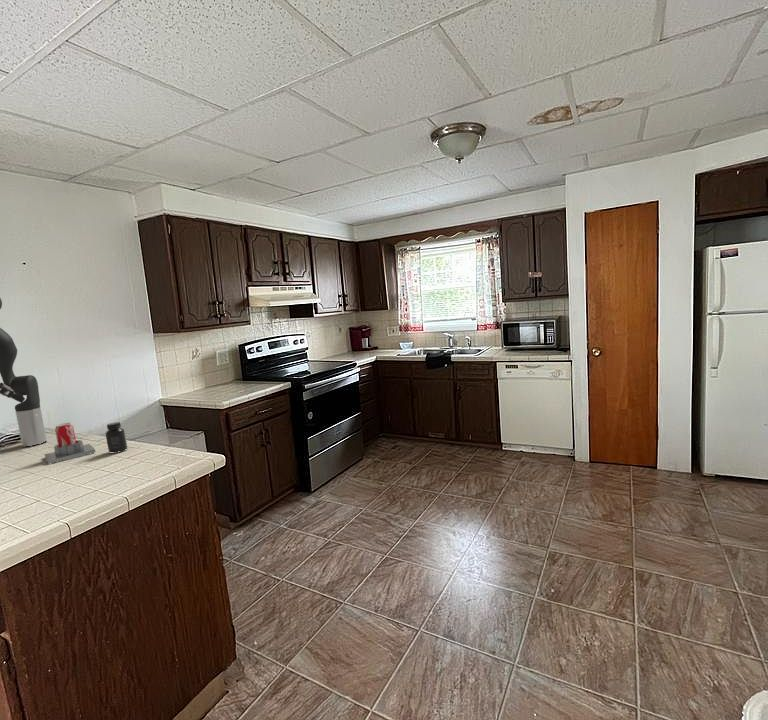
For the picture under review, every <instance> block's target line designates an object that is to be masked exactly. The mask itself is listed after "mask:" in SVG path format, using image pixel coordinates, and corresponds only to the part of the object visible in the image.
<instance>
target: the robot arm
mask: <svg viewBox="0 0 768 720" xmlns="http://www.w3.org/2000/svg"><path fill="white" fill-rule="evenodd" d="M2 301H3V300H2V299H1V297H0V310H1V309H2V306H3V302H2ZM17 355H18V348H17V346H16V343H15V342H14V339H13V338H12V337H11V335H10V334H9V333H8V332H7V331H6V330H4V329H3V328H2V327H0V377H1V380H2V382H0V395H1V396H3V397H6V398H9V399H11V400H14V401H16V402H19V403H17V404H15V405H14V410H15V416H16V421H17V425H18V429H19V436H20V439H21V445H22V447H23V446H30V445H36V444H40V443H43V442H45V441H47V442H48V440H47V436H46V435H47V434H46V430H45V424H44V419H43V413H42V409H41V398H40V397H41V396H40V391H39V382H38V380H37V378H36V376H34V375H32V374H31V375H29V374H28V375H20V376H16V375H15V373H14V368H13V367H14V363H15V361H16V359H17ZM24 396H26V397H24ZM43 444H44V443H43ZM40 445H41V444H40ZM36 446H37V445H36Z"/></svg>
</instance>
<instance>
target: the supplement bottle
mask: <svg viewBox="0 0 768 720" xmlns="http://www.w3.org/2000/svg"><path fill="white" fill-rule="evenodd" d="M106 428H107V430H106V432H105V438H106V439H105V440H106V445H107V450H108V453H109V452H118V451H123V450H125V449H127V450H128V444H127V439H126V432H125V428H122V425H121V421H118V422H117V421H116V422H112V423H110V422H109V423H107V424H106ZM125 451H126V450H125ZM123 452H124V451H123Z"/></svg>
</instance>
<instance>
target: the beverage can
mask: <svg viewBox="0 0 768 720" xmlns="http://www.w3.org/2000/svg"><path fill="white" fill-rule="evenodd" d="M54 429H55V431H54V432H55V437H56V440H57V445H58V447H64V446H69V445H73V444H76V440H77V438H76V433H75V429H74V425H73V424H72V422H64V423H60V424H57V425H55V428H54Z"/></svg>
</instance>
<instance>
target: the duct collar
mask: <svg viewBox="0 0 768 720" xmlns="http://www.w3.org/2000/svg"><path fill="white" fill-rule="evenodd" d="M53 449H54V451H53V452H49V453H44V459H45V458H46V459H45V461H46V460H47V461H46V463H47V462H48V463H47V465H48V464H49V465H51V464H50V463H53V464H55V463H54V462H57V461H61V462H63V461H62V460H65V461H67V460H66V459H69V460H72V459H71V458H73V459H76V458H75V457H77V458H80V457H79V456H81V457H84V456H83V455H85V456H87V455H86V454H89V455H91V454H90V453H93V454H95V453H94V452H96V449H95V448H94V447H93V446H92V445H91V444H90V443H87V444H86V443H85V444H84V443H83V440H81V439H80V440H79V439H76V444H73V445H69V446H64V447H58V444H56V445H54V446H53ZM57 463H58V462H57Z"/></svg>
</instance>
